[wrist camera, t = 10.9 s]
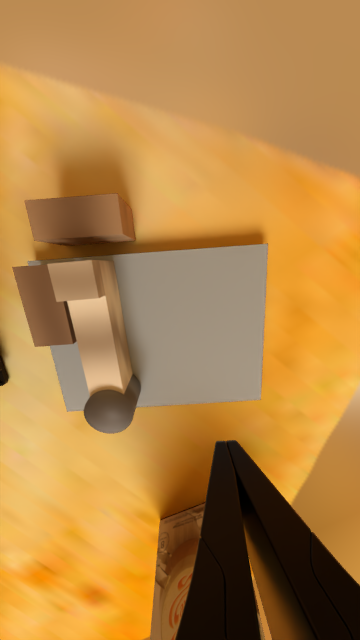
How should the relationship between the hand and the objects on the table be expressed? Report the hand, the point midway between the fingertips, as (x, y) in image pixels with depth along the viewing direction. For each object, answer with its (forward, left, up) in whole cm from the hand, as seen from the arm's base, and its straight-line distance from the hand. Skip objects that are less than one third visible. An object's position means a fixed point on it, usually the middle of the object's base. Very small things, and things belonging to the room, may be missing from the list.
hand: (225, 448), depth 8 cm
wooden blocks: (-9, +7, -12) cm, 17 cm away
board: (-4, +1, -12) cm, 13 cm away
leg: (-8, +1, -11) cm, 14 cm away
